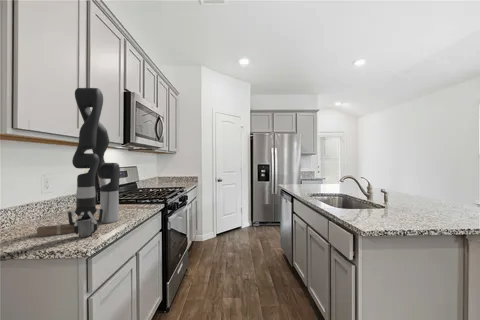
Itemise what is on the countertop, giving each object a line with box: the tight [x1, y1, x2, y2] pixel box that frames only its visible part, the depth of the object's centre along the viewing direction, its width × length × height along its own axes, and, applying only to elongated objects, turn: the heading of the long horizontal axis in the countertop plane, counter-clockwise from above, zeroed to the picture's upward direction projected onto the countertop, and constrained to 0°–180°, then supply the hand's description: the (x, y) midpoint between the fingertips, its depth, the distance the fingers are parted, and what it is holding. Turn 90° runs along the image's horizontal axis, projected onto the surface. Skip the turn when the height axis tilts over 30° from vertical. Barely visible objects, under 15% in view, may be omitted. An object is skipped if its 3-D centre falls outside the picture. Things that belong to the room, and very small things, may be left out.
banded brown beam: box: [36, 223, 74, 238], centre depth 120 cm, size 4×20×4 cm, turn 121°
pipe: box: [75, 218, 99, 238], centre depth 116 cm, size 6×13×8 cm, turn 2°
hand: (85, 232), depth 115 cm, fingers closed on pipe, 6 cm apart
